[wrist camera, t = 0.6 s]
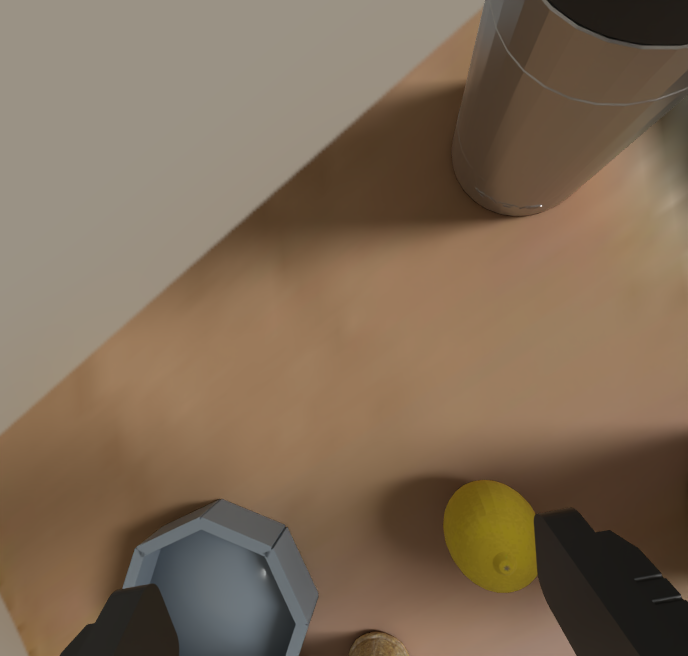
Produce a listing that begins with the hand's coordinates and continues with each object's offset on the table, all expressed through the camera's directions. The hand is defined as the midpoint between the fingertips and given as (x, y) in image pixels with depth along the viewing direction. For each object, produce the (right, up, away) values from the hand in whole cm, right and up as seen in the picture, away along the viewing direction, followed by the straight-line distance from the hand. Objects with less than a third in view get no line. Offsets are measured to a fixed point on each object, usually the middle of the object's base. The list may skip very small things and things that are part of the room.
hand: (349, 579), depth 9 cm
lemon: (+9, -7, +20) cm, 23 cm away
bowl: (-9, -15, +23) cm, 28 cm away
